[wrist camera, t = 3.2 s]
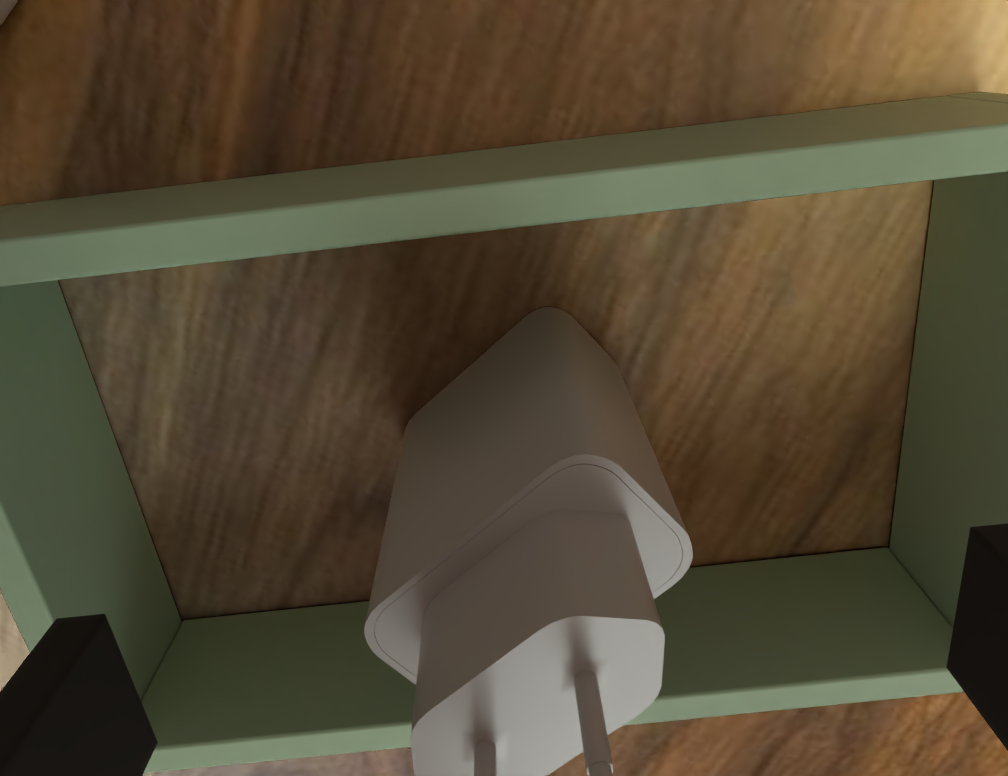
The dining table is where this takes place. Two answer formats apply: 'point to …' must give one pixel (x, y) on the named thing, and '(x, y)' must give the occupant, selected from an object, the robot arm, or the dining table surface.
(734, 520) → the dining table surface
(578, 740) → the power adapter
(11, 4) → the mug
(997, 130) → the bin
